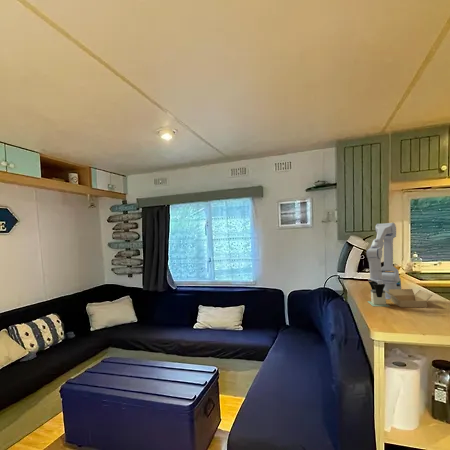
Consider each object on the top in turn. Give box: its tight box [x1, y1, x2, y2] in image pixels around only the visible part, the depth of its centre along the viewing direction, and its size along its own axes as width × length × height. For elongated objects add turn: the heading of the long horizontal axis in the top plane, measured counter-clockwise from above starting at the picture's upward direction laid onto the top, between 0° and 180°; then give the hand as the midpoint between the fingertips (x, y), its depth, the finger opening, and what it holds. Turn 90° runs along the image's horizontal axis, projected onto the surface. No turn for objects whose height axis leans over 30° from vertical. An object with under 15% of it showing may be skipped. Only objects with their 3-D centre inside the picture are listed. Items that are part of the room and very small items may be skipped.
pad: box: [367, 300, 391, 307], centre depth 159 cm, size 12×8×1 cm, turn 167°
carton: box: [384, 288, 433, 308], centre depth 158 cm, size 18×18×6 cm
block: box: [370, 289, 387, 304], centre depth 160 cm, size 4×6×7 cm
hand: (377, 295), depth 160 cm, fingers open, 7 cm apart
